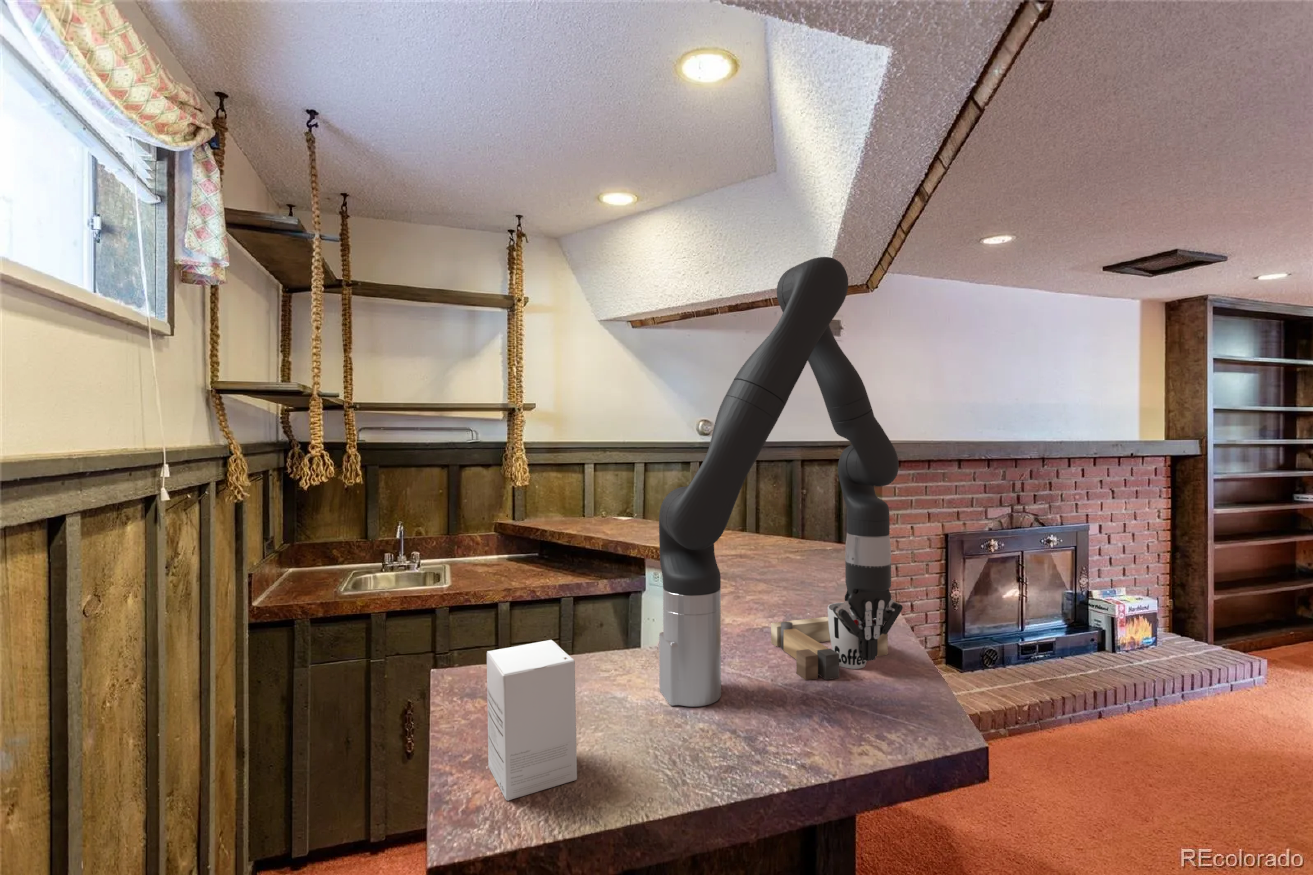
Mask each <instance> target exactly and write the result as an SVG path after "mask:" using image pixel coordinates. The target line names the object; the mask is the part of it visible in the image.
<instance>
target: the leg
mask: <svg viewBox="0 0 1313 875" xmlns="http://www.w3.org/2000/svg"><path fill="white" fill-rule="evenodd" d="M780 622H781V647H780V649H782V650H783V652H785V653H786V654H788V655H789V656H791V657H792V658H793V659H795V660H796V651H797V650H805V649H809V650H811V651H812V652H814V653H816V654H817V655H818V676H820V677H821V678H822V679H824V680H831V679H838V678H839V679H840V666H839V653H837V652H835V651H834V650H832V648H829V647H827V646H826V645H824V644H822V642H817V641H816V640H814V639H812V638H810V637H809V636H807V635H805V634H804V633H802V632H800V631H799V630H797V629H795V628H794V629H793V623H791V622H784V621H780Z"/></svg>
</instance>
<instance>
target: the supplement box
mask: <svg viewBox="0 0 1313 875" xmlns="http://www.w3.org/2000/svg"><path fill="white" fill-rule="evenodd" d="M486 680H487V681H486V687H487V688H486V689H487V690H486V691H487V695H486V696H487V698H486V699H487V746H488V748H487V750H488V752H487V753H488V754H487V756H488V760H487V761H488V764H487V765H488V768H489V770H490V773H491V774H492V776H493V778H494V779H495V782H496V784H497V785H498V787H499V789H500V791H501V793H502V795H503V797H504V799H505V801H511V800H514V799H517V798H521V797H525V796H527V795H531V794H534V793H537V792H541V791H543V790H548V789H550V788H551V789H552V788H554V787H558V786H560V785H563V784H568V783H571V782H573V781H576V780H577V779H578V765H577V764H578V762H577V761H578V760H577V756H578V755H577V710H576V699H577V698H576V661H575V659H574V658H573V657H571V656H570V655H569V654H568V653H567V652H566V651H564V650H563V649H562V648H561V647H560V645H559V644H557V643H556V642H555V641H554V640H552V639H548V640H543V641H536V642H532V643H526V644H519V645H514V646H511V647H503V648H499V649H493V650H487V651H486Z"/></svg>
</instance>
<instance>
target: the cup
mask: <svg viewBox="0 0 1313 875" xmlns="http://www.w3.org/2000/svg"><path fill="white" fill-rule="evenodd" d="M844 602H845V601H844ZM844 602H842V601H841V602H834V603H830V604H828V605H827V617H828V623H829V633H830V639H831V641H830V644H831V649H832V650H834V651H835V652H837V653H839V667H842V668H846V669H852V670H856V669H857V670H859V669H862V668H865V667H866V665H867V662H868V661H866V660H864V659H863V658H862V657H861V656H860V655H859V639H858V637H856V636H854V635H853V634H851V633H849V632H848V631H847V629H846V628H845V627H844V625H843V624H842V623H841V621H840V620H839V619H838V617H837V616H836V615H835V613H834V612H833V608H834V607H835V606H837V607H840V606H841V605H842V604H843V603H844ZM850 611H851V609H850ZM851 614H852V615H851V616H850V617H851V618H852V619H853V621H854V622H855V623H856V618H858V617H856V616H855V615H854V614H853V612H852V611H851Z"/></svg>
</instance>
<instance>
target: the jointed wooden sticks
mask: <svg viewBox="0 0 1313 875" xmlns="http://www.w3.org/2000/svg"><path fill="white" fill-rule="evenodd" d="M781 622H782V621H776V622H771V623H770V644H772V645H773V646H775V647H776V646H777V647H776V648H781ZM783 622H791V623H793V629H794V628H795V629H797V630H799V631H800V632H802V633H804V634H805V635H807V636H809V637H810V638H812V639H814V640H816V641H817V642H819V643H822V642H823V643H824V642H831V639H830V633H829V623H828V616H821V617H813V618H803V619H794V620H786V621H783ZM888 637H889V635H888V633H887V634H882V635H880V636H879V638H878V647H877V648H878V653H877V656H876V657H883V656H888V653H889V652H888V651H889V650H888V649H889V638H888ZM795 661H796V662H795V663H796V668H795V670H796V674H797V675H798V676H799V677H800V678H802V679H803V680H805V681H808V680H816V679H819V675H818V655H817V654H816V653H814V652H812V651H811V650H809V649H805V650H797V651H796V659H795Z"/></svg>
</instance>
